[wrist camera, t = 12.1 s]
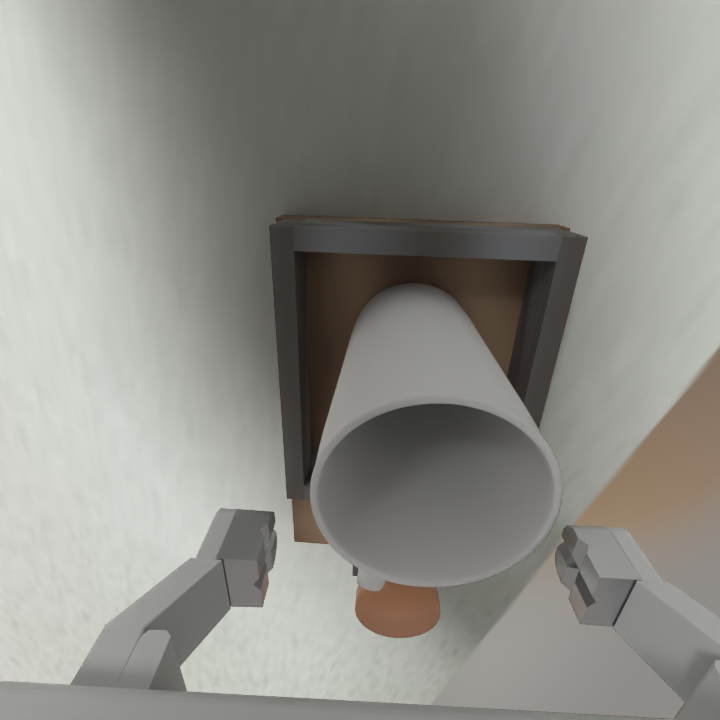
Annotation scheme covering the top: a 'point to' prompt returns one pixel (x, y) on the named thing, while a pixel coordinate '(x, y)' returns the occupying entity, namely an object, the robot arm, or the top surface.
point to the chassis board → (398, 266)
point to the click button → (398, 609)
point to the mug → (429, 451)
